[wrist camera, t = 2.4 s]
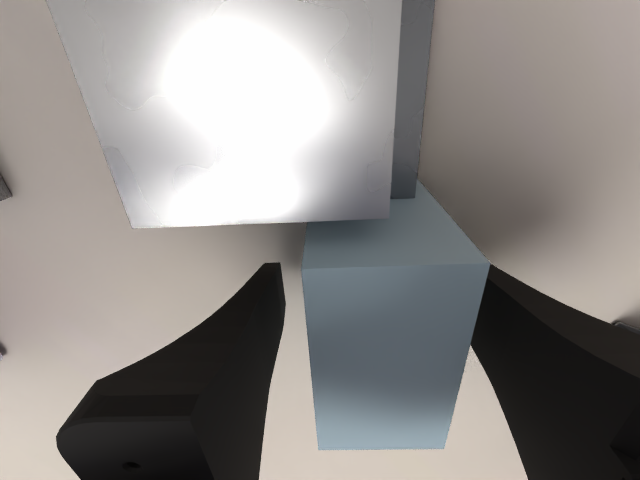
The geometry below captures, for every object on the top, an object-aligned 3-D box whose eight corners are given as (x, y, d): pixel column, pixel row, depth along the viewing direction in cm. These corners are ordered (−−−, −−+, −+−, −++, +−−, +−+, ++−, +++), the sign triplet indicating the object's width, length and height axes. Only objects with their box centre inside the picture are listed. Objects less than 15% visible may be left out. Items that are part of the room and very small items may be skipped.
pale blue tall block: (321, 319, 15) (318, 450, 10) (312, 182, 12) (300, 269, 7) (402, 317, 15) (444, 449, 10) (417, 178, 12) (490, 262, 6)
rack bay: (-17, 197, 12) (-238, 277, 8) (-257, -203, 8) (-1314, -703, 3) (401, 179, 12) (454, 254, 7) (436, -274, 7) (703, -1118, 2)
